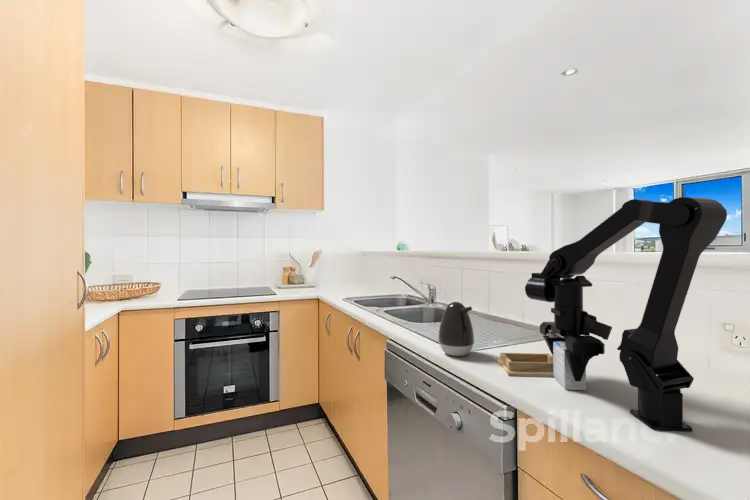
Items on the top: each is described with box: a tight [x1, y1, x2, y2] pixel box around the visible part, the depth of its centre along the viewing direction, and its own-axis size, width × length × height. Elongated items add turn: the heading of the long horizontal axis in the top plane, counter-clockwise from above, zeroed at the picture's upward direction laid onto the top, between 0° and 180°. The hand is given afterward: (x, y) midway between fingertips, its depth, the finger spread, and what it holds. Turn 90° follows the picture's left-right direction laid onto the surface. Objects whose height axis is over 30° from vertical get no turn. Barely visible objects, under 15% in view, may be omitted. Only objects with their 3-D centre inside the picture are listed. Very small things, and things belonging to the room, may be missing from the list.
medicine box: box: [553, 342, 587, 392], centre depth 80 cm, size 8×4×9 cm, turn 170°
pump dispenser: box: [437, 301, 475, 357], centre depth 103 cm, size 10×10×15 cm
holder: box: [495, 352, 554, 378], centre depth 90 cm, size 12×14×3 cm
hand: (568, 374), depth 80 cm, fingers closed on medicine box, 8 cm apart
